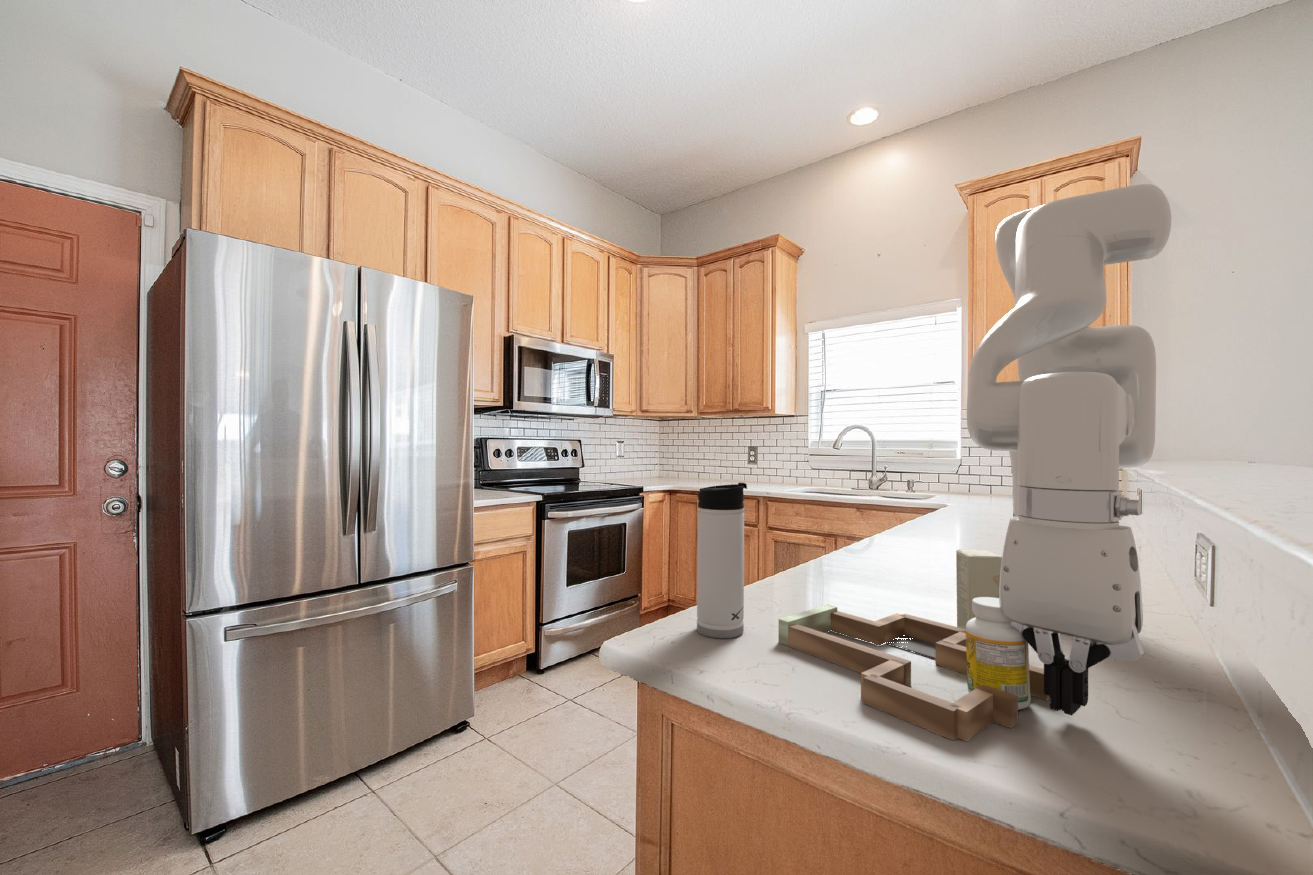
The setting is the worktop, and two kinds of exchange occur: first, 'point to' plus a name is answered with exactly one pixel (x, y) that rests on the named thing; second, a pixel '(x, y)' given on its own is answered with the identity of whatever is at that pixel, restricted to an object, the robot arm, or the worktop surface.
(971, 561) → the box
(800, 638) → the box
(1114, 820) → the worktop surface
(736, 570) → the travel mug
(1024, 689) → the supplement bottle
